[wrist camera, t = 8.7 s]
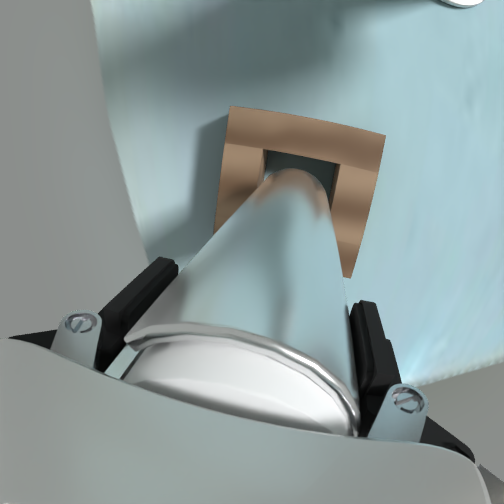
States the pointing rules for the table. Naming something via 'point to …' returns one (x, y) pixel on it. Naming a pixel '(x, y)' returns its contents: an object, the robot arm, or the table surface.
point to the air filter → (257, 318)
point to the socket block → (309, 145)
